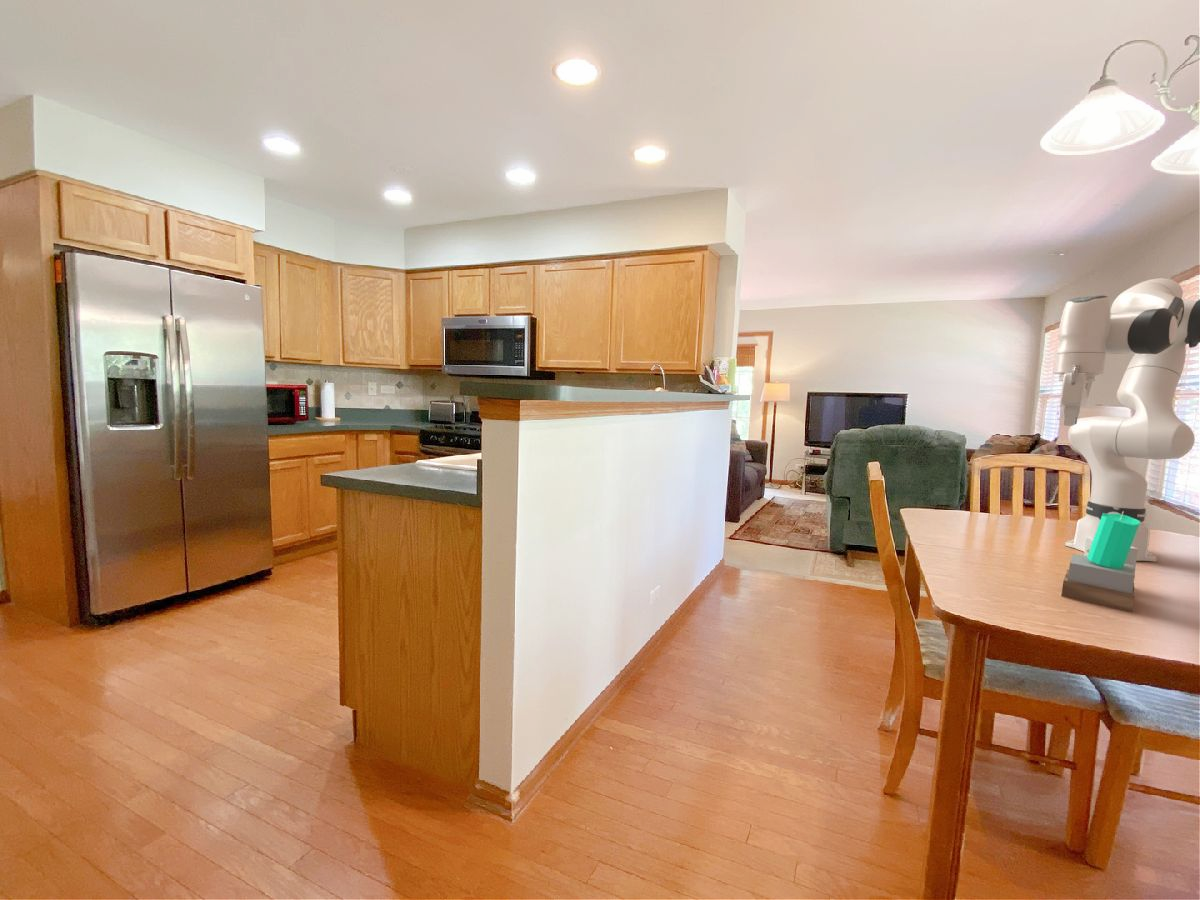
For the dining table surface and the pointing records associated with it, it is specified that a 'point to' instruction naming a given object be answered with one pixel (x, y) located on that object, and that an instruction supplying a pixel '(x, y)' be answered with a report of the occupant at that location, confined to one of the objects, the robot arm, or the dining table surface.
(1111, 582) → the tower top
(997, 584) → the dining table surface
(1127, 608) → the tower base
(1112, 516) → the candle
